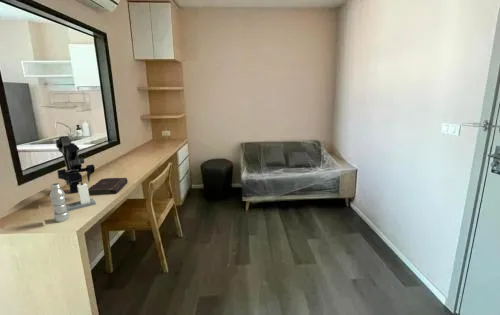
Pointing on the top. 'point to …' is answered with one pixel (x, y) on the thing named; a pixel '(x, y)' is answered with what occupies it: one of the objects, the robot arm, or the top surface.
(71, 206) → the power strip
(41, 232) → the top surface
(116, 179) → the diary
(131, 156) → the top surface
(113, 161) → the top surface
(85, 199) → the charger
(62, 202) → the plastic bottle
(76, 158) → the robot arm
